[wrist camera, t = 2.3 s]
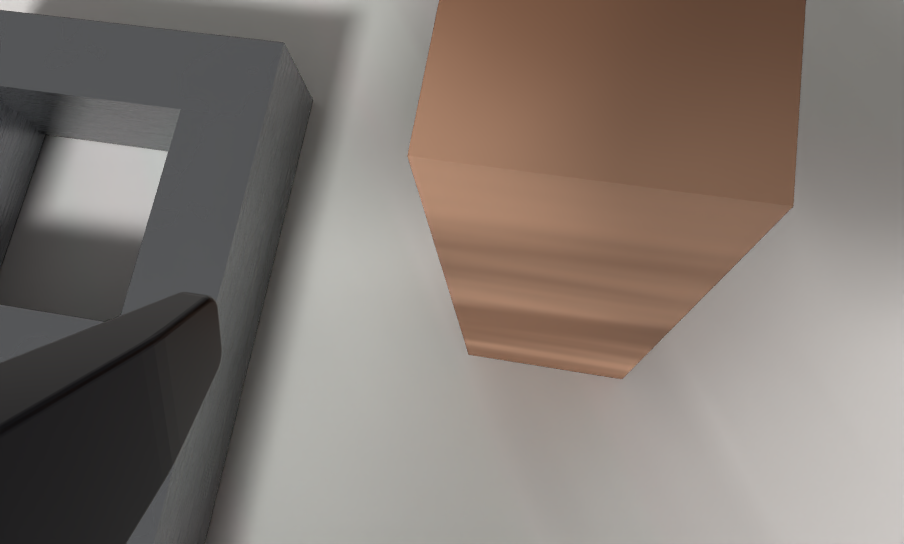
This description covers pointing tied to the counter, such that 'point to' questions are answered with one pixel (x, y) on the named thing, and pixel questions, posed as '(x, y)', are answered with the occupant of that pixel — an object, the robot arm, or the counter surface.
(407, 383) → the counter surface
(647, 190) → the square peg
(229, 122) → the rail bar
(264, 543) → the counter surface
